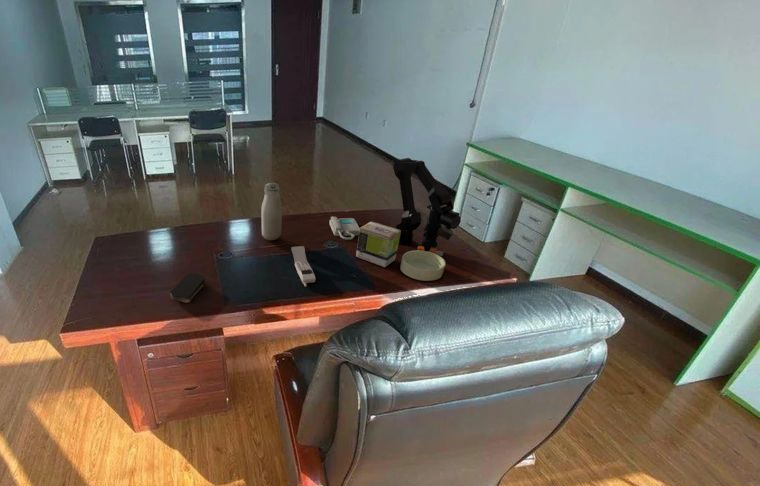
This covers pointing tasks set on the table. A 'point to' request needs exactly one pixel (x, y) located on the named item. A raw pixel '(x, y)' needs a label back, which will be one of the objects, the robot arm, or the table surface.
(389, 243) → the tea box
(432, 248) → the knife
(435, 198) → the robot arm
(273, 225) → the white water bottle
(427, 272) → the bowl
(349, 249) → the table surface
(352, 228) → the intercom
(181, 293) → the black sponge
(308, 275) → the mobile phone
